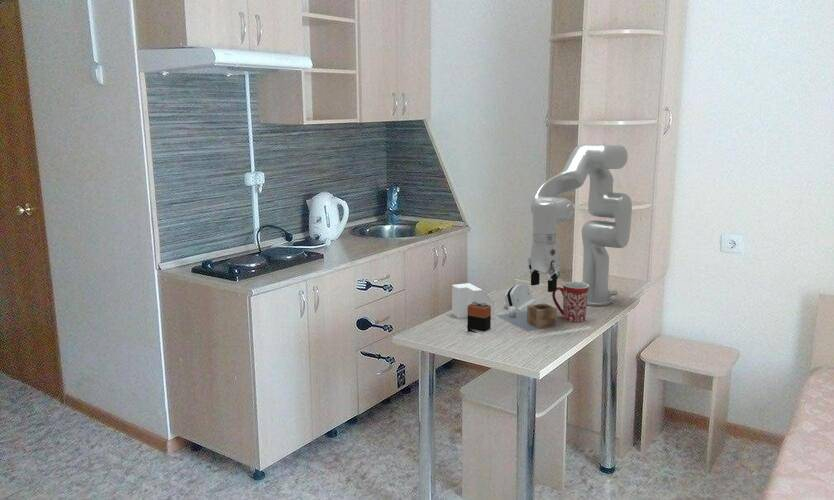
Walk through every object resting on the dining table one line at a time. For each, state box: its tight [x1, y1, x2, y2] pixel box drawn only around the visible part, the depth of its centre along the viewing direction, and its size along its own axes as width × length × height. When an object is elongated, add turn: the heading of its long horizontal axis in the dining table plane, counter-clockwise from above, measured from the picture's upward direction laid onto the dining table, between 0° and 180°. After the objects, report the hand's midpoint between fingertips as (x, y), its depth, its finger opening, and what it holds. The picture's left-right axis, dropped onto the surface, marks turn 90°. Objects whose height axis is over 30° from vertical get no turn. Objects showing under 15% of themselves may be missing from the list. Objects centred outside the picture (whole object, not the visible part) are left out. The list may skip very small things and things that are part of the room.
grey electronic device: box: [503, 283, 537, 312], centre depth 253 cm, size 17×5×10 cm, turn 149°
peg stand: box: [495, 306, 560, 332], centre depth 233 cm, size 13×20×6 cm, turn 25°
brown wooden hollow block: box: [526, 303, 558, 329], centre depth 229 cm, size 7×7×6 cm
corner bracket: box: [451, 282, 495, 320], centre depth 239 cm, size 11×11×12 cm
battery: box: [466, 302, 492, 334], centre depth 225 cm, size 4×7×10 cm, turn 56°
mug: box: [551, 281, 589, 323], centre depth 235 cm, size 13×9×14 cm
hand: (543, 288), depth 227 cm, fingers open, 9 cm apart
